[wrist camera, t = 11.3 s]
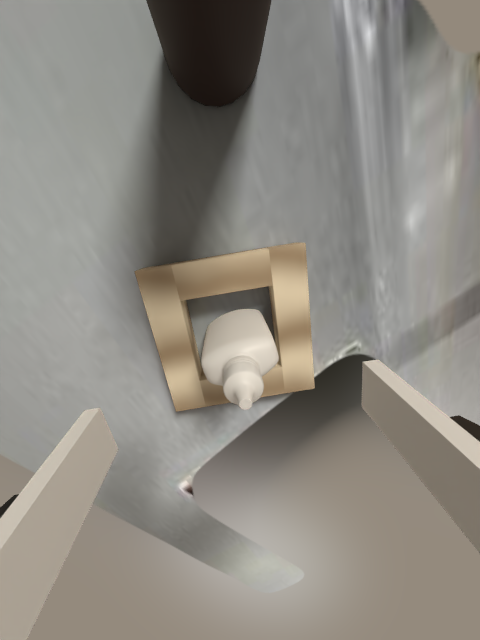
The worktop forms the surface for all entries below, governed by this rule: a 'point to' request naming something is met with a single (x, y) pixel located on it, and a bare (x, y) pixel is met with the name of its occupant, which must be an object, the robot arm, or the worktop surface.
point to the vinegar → (211, 45)
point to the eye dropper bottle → (239, 355)
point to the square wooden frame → (218, 278)
